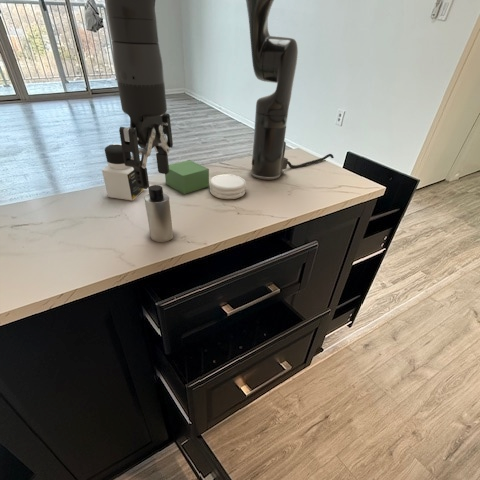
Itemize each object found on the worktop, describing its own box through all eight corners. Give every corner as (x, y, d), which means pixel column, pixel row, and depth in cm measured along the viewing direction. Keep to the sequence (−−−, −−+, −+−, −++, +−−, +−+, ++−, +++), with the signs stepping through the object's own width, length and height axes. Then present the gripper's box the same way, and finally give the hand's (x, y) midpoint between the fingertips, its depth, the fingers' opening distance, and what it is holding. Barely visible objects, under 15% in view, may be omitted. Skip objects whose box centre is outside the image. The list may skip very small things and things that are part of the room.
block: (190, 177, 98) (189, 159, 94) (209, 186, 93) (208, 168, 90) (165, 184, 93) (163, 166, 90) (184, 194, 89) (182, 175, 85)
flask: (165, 228, 74) (159, 180, 67) (177, 237, 72) (172, 188, 64) (146, 235, 72) (137, 186, 64) (158, 244, 69) (151, 194, 62)
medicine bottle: (132, 201, 84) (123, 152, 76) (107, 197, 85) (95, 148, 76) (144, 190, 89) (136, 143, 81) (120, 187, 90) (110, 140, 81)
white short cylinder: (225, 203, 86) (225, 190, 83) (203, 191, 91) (202, 178, 88) (252, 194, 91) (253, 181, 88) (229, 183, 96) (229, 171, 93)
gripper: (139, 87, 46) (154, 197, 57) (180, 76, 56) (186, 171, 67) (94, 81, 47) (117, 190, 59) (141, 71, 57) (154, 166, 69)
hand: (154, 180), depth 63 cm, fingers open, 8 cm apart
